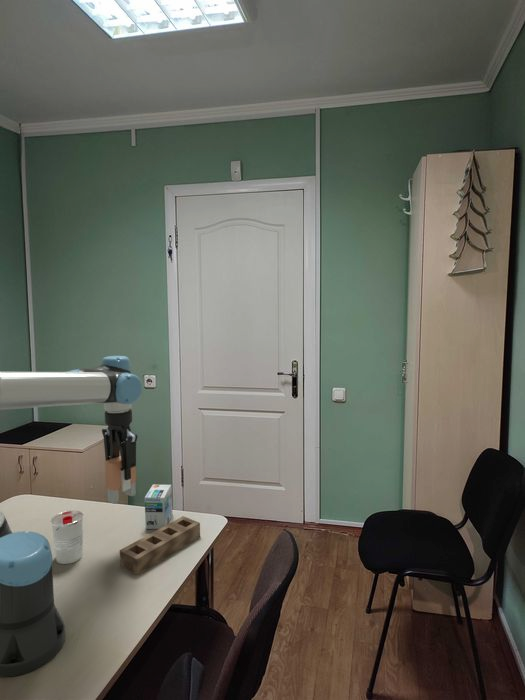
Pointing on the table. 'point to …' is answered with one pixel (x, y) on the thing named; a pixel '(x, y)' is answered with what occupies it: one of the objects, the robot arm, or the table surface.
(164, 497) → the light bulb box
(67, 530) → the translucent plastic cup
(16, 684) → the table surface
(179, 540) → the brown long block
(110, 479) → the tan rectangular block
